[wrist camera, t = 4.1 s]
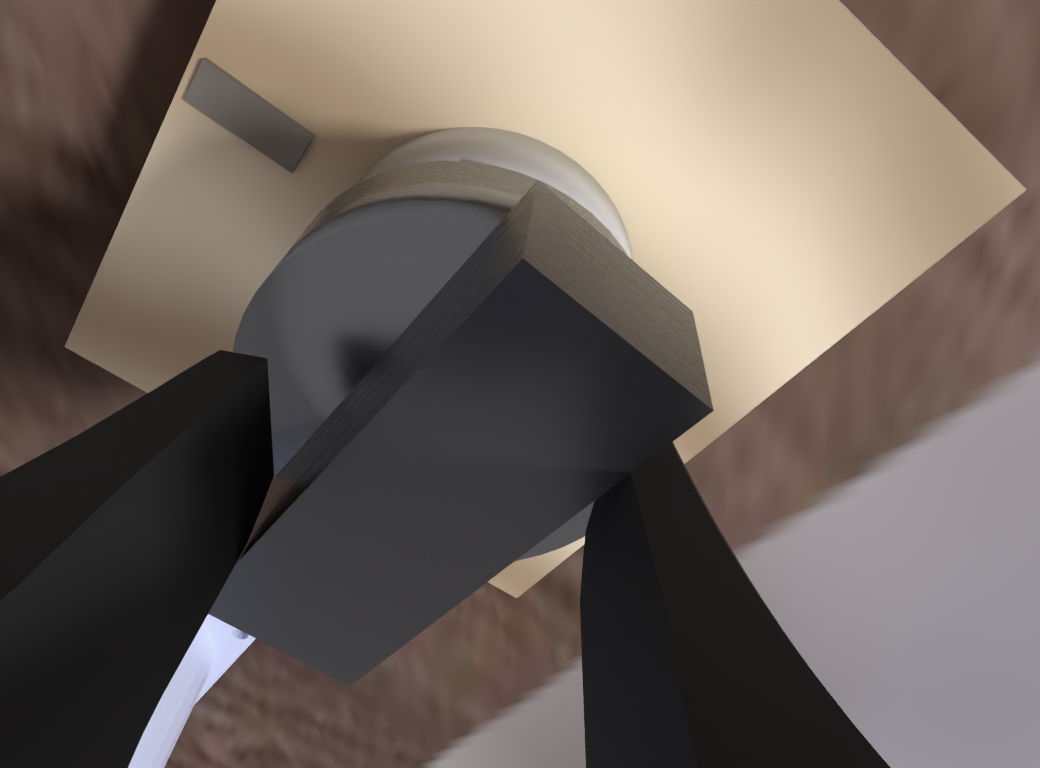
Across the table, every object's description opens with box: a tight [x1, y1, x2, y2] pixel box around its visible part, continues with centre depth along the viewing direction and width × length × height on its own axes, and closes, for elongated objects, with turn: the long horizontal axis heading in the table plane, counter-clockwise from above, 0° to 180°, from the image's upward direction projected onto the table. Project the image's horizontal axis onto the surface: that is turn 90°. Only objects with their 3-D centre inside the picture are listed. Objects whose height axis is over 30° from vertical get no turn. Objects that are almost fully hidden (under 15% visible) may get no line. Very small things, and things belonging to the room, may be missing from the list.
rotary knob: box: [208, 161, 714, 686], centre depth 11 cm, size 6×8×4 cm
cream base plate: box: [65, 0, 1026, 598], centre depth 14 cm, size 14×12×4 cm
